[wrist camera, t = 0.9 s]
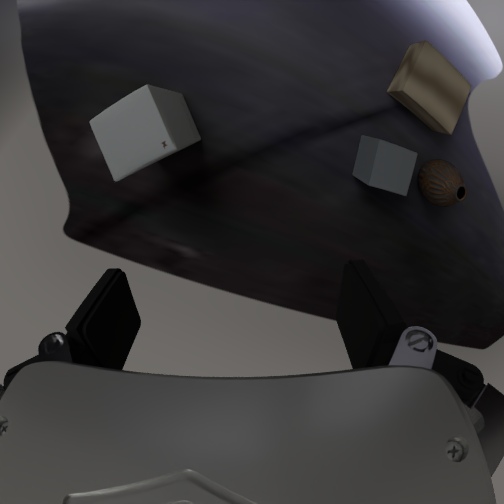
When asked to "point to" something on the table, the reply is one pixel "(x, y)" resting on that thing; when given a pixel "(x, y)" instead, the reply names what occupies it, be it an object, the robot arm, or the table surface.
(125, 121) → the supplement box
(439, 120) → the birch block
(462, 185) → the vase
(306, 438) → the robot arm
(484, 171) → the table surface
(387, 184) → the slate block
